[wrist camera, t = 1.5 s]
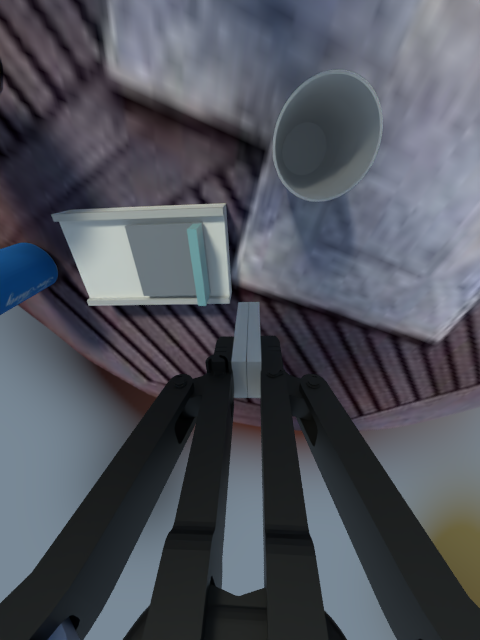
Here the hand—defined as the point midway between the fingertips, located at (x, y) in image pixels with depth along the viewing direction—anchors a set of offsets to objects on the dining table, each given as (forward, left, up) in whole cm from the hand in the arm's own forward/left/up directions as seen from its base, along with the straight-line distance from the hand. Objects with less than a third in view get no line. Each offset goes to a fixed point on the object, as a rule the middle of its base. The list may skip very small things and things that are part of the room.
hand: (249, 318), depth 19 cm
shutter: (0, -10, -14) cm, 17 cm away
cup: (-11, +6, -18) cm, 22 cm away
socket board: (0, -13, -17) cm, 22 cm away
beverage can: (+1, -31, -18) cm, 36 cm away
